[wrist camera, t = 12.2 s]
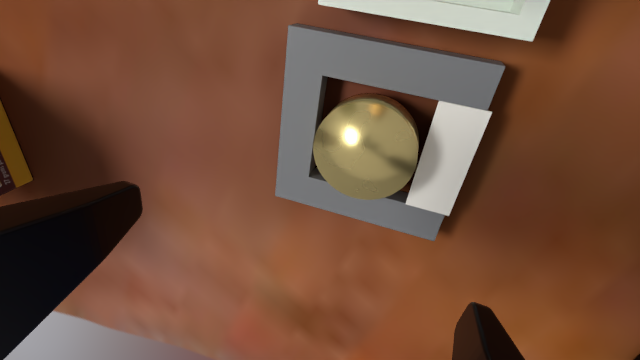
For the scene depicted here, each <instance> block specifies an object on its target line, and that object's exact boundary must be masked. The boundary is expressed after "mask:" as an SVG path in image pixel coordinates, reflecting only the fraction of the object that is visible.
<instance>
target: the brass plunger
mask: <svg viewBox="0 0 640 360" xmlns="http://www.w3.org/2000/svg"><path fill="white" fill-rule="evenodd" d="M418 148H419V133H418V129H417V126H416V123H415V121H414V119H413V117H412V116H411V114H410V113H409V112H408V111H407V110H406V108H405V107H404V106H402V105H401V104H400V103H399V102H397V101H395V100H394V99H392V98H389V97H387V96H384V95H380V94H374V93H364V94H358V95H354V96H351V97H349V98H347V99H345V100H343V101H342V102H340V103H339V104H338V105H337V106H336V107H335V108H334V109H333V110H332V111H331V112H330V113H329V114H328V115H327V117H326V118H325V119H324V120H323V121H322V123H321V124H320V126H319V128H318V129H317V132H316V134H315V138H314V143H313V154H314V159H315V163H316V165H317V168H318V170H319V172H320V173H321V175H322V176H323V178H324V179H325V180H326V181H327V182H328V183H329V184H330V185H331V186H332V187H333V188H335V189H336V190H337V191H339V192H341V193H343V194H345V195H347V196H350V197H353V198H357V199H363V200H374V199H381V198H385V197H387V196H390V195H392V194H394V193H396V192H397V191H399V190H400V189H402V188H403V187H404V186H405V185H406V184H407V182H408V181H409V180H410V179H411V177H412V175H413V173H414V171H415V168H416V164H417V158H418Z"/></svg>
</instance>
